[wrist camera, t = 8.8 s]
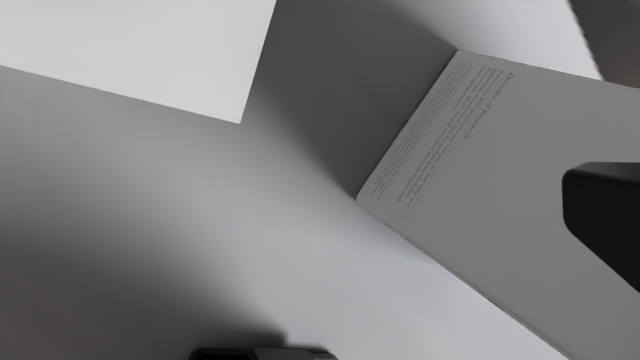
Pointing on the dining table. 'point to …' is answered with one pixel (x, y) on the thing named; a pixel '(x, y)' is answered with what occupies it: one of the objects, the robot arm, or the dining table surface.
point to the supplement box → (514, 195)
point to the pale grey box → (143, 48)
